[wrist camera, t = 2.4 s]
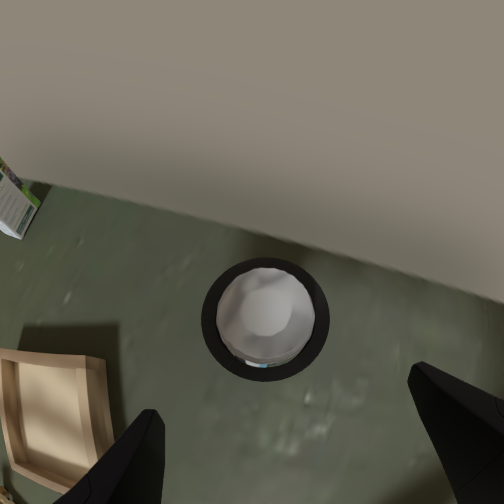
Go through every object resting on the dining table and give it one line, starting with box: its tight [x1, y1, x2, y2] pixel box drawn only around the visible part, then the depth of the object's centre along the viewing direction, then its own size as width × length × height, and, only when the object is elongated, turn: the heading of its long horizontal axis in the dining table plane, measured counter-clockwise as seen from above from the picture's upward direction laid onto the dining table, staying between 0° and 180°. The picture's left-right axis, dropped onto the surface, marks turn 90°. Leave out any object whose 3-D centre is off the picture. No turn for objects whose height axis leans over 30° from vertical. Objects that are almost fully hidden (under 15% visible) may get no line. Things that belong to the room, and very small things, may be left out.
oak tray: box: [0, 348, 115, 494], centre depth 14 cm, size 13×13×3 cm
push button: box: [201, 258, 330, 382], centre depth 15 cm, size 7×5×10 cm
